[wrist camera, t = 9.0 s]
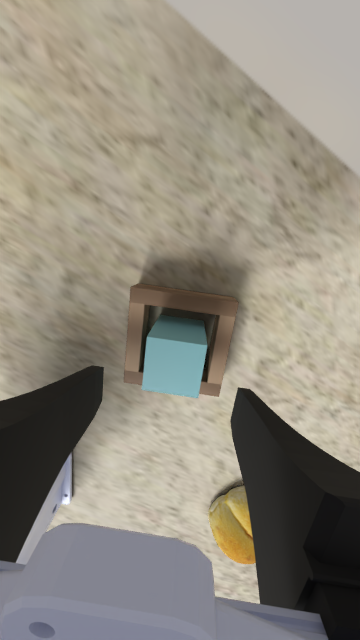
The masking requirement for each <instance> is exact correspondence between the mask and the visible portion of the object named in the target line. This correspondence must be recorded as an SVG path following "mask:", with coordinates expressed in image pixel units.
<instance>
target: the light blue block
mask: <svg viewBox="0 0 360 640" xmlns="http://www.w3.org/2000/svg"><path fill="white" fill-rule="evenodd" d="M206 351H207V340H206V333H205V327H204V321H201V320H194V319H187V318H180V317H173V316H166V315H160V316H159V317H158V319H157V321H156V322H155V324H154V326H153V327H152V329H151V331H150V332H149V334H148V336H147V341H146V352H145V362H144V372H143V382H142V390H147V391H153V392H160V393H167V394H173V395H180V396H187V397H193V398H198V396H199V390H200V385H201V379H202V373H203V368H204V362H205V356H206Z"/></svg>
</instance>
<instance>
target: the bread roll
mask: <svg viewBox="0 0 360 640" xmlns="http://www.w3.org/2000/svg"><path fill="white" fill-rule="evenodd" d="M208 519H209V522H210V526H211V529H212V532H213V536H214V538H215V540H216V542H217V545H218V546H219V547H220V548H221V550H222V551H223V552H224V553H225V554H226V555H227V556H228V557H229V558H230V559H232V560H234V561H235V562H238V563H242V564H253V563H256V561H255V552H254V544H253V537H252V530H251V523H250V516H249V509H248V503H247V496H246V491H245V486H244V485H243V486H239V487H236V488H233V489H231V490H230V491H229V492H228V493H227V494H226V495H221V496H219V497H218V498H217V499H216V500H215V501H214V502H213V503H212V505H211V507H210V508H209V511H208Z"/></svg>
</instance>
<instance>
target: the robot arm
mask: <svg viewBox="0 0 360 640" xmlns="http://www.w3.org/2000/svg"><path fill="white" fill-rule="evenodd" d="M103 370H104V367H99V366H90V367H87V368H85V369H83V370H81V371H79V372H76V373H74V374H72V375H70V376H68V377H66V378H64V379H61V380H59V381H57V382H54V383H52V384H50V385H47V386H45V387H42V388H40V389H37V390H35V391H32V392H29V393H26V394H23V395H20V396H17V397H14V398H10V399H6V400H3V401H0V640H360V472H358V471H356V470H355V469H353V468H351V467H349V466H347V465H346V464H344V463H342V462H341V461H339V460H337V459H336V458H334V457H333V456H331V455H329V454H328V453H326V452H325V451H323V450H322V449H320V448H319V447H317V446H316V445H314V444H313V443H311V442H310V441H309V440H307V439H306V438H305V437H303V436H302V435H301V434H299V433H298V432H297V431H295V430H294V429H293V428H292V427H291V426H289V425H288V424H287V423H286V422H285V421H283V420H282V419H281V418H280V417H279V416H278V415H277V414H276V413H275V412H273V411H272V410H271V409H270V408H269V407H268V406H267V405H266V404H265V403H264V402H263V401H262V400H261V399H260V398H259V397H258V396H257V395H256V394H255V393H254V392H253V391H251V390H250V389H245V388H239V387H238V390H237V395H236V399H235V403H234V408H233V412H232V416H231V429H232V437H233V442H234V446H235V450H236V454H237V458H238V462H239V466H240V470H241V474H242V478H243V482H244V486H245V491H246V496H247V503H248V509H249V516H250V523H251V530H252V537H253V544H254V552H255V561H256V569H257V578H258V587H259V597H260V604H256V603H250V602H244V601H238V600H233V599H227V598H221V597H215V593H214V577H213V570H212V562H211V561H210V560H209V559H208V558H207V557H206V556H205V555H204V554H203V553H202V552H201V551H200V550H199V549H198V548H197V547H196V546H195V545H193V544H190V543H187V542H185V541H182V540H179V539H176V538H170V537H164V536H158V535H152V534H146V533H140V532H134V531H128V530H121V529H115V528H109V527H103V526H97V525H91V524H85V523H67V524H61V525H58V526H57V527H55V528H53V529H51V530H49V531H48V532H46V531H47V529H48V527H49V525H50V523H51V522H52V520H53V518H54V516H55V514H56V512H57V510H58V509H59V507H60V505H61V504H69V503H70V502H71V500H72V451H73V449H74V448H75V446H76V444H77V443H78V441H79V440H80V438H81V437H82V435H83V434H84V432H85V431H86V429H87V428H88V426H89V424H90V423H91V421H92V420H93V418H94V416H95V414H96V412H97V410H98V408H99V406H100V404H101V402H102V392H103Z"/></svg>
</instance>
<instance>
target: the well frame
mask: <svg viewBox="0 0 360 640" xmlns="http://www.w3.org/2000/svg"><path fill="white" fill-rule="evenodd" d="M238 303H239V302H238V301H237V300H236V299H235V298H234V297H230V296H223V295H216V294H209V293H202V292H195V291H188V290H181V289H174V288H167V287H159V286H152V285H145V284H136V285H134V286H132V287H131V289H130V303H129V316H128V330H127V344H126V357H125V371H124V382H125V383H131V384H138V385H142V382H143V372H144V362H145V360H144V358H145V348H146V338H147V328H148V318H149V308H150V305H153V306H160V307H167V308H173V309H180V310H187V311H194V312H201V313H208V314H215V315H216V317H215V322H214V327H213V333H212V338H211V344H210V349H209V355H208V360H207V366H206V369H205V368H203V373H202V379H201V385H200V390H199V394H204V395H211V396H217V397H219V394H220V389H221V384H222V380H223V375H224V370H225V365H226V360H227V356H228V351H229V346H230V341H231V336H232V332H233V327H234V322H235V317H236V313H237V308H238Z"/></svg>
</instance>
